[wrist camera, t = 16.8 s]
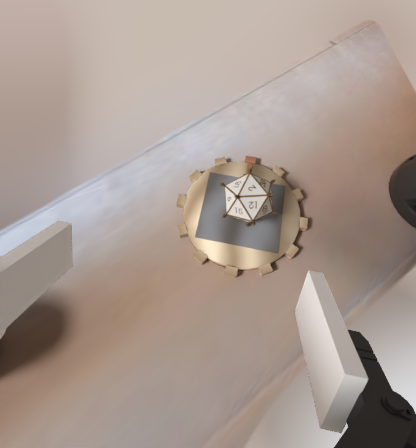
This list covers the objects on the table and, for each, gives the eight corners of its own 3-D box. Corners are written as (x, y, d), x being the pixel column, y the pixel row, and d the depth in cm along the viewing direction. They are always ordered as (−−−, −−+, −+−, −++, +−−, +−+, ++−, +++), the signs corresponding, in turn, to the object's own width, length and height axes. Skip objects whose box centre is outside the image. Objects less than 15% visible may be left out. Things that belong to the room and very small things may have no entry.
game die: (236, 209, 53) (237, 153, 48) (283, 221, 49) (290, 161, 44) (209, 233, 47) (207, 171, 42) (261, 249, 43) (265, 183, 38)
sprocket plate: (309, 171, 54) (312, 166, 53) (299, 290, 46) (302, 288, 45) (191, 150, 55) (191, 145, 54) (162, 262, 47) (161, 260, 46)
